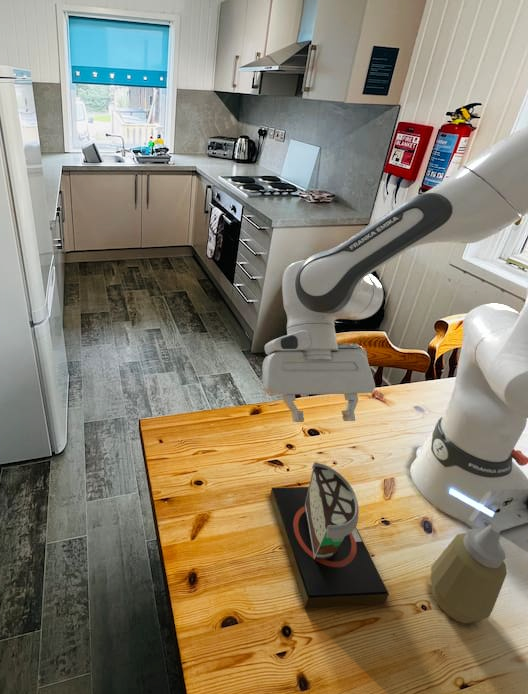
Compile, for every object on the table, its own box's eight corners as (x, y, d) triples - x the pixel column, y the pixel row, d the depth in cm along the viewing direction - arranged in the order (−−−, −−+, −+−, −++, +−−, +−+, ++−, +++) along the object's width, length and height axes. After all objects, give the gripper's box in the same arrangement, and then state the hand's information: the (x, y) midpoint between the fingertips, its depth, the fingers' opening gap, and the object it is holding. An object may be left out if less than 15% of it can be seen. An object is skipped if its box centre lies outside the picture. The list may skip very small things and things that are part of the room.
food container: (355, 577, 62) (372, 536, 59) (316, 569, 63) (329, 528, 59) (337, 503, 74) (349, 465, 70) (303, 497, 74) (314, 459, 71)
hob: (333, 495, 78) (336, 484, 77) (384, 604, 62) (389, 592, 61) (269, 497, 77) (272, 486, 76) (304, 608, 61) (308, 596, 60)
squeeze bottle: (417, 599, 63) (455, 526, 56) (431, 561, 68) (467, 490, 61) (478, 647, 58) (529, 573, 51) (488, 602, 63) (535, 529, 56)
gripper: (355, 345, 79) (369, 420, 74) (256, 345, 78) (263, 422, 72) (373, 340, 73) (390, 420, 68) (266, 340, 72) (275, 422, 67)
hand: (324, 421), depth 70 cm, fingers open, 8 cm apart
